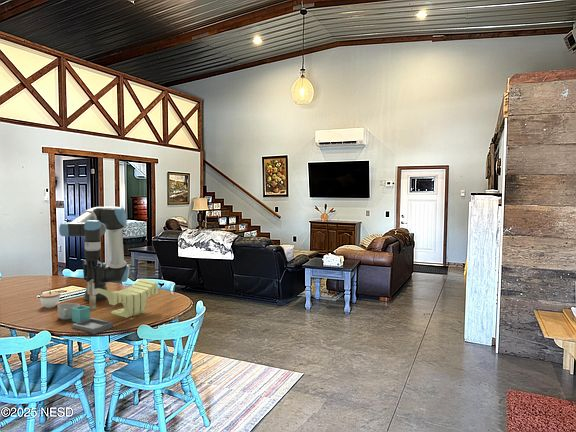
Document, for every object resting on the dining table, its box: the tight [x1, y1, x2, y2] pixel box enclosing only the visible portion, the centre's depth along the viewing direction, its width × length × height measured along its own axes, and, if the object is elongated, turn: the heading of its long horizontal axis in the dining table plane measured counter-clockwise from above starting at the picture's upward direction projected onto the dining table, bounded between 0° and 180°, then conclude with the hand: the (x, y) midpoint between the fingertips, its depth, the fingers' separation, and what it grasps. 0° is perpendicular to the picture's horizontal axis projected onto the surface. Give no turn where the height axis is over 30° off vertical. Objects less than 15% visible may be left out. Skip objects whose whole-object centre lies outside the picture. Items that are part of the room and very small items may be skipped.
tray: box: [71, 317, 114, 335], centre depth 207 cm, size 16×12×3 cm
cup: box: [71, 305, 91, 323], centre depth 216 cm, size 6×6×8 cm
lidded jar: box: [39, 291, 61, 309], centre depth 243 cm, size 11×11×9 cm
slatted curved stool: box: [98, 278, 159, 318], centre depth 231 cm, size 30×16×18 cm, turn 149°
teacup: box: [57, 302, 80, 321], centre depth 219 cm, size 14×11×8 cm
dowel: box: [88, 280, 97, 312], centre depth 206 cm, size 3×3×16 cm
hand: (92, 293), depth 206 cm, fingers closed on dowel, 3 cm apart
